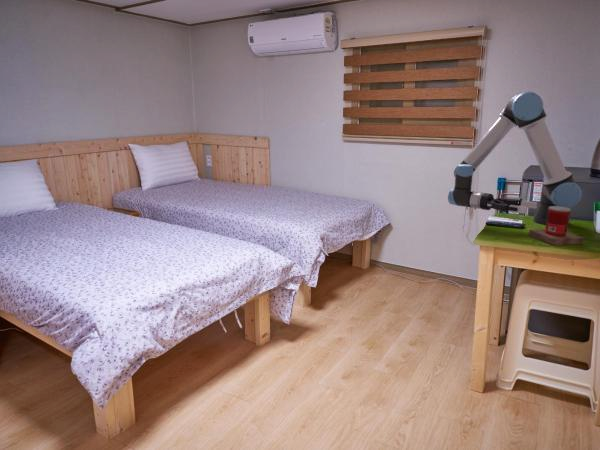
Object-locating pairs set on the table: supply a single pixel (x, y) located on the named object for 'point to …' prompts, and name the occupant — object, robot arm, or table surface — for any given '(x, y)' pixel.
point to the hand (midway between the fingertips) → (531, 208)
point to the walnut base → (556, 238)
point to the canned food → (557, 220)
